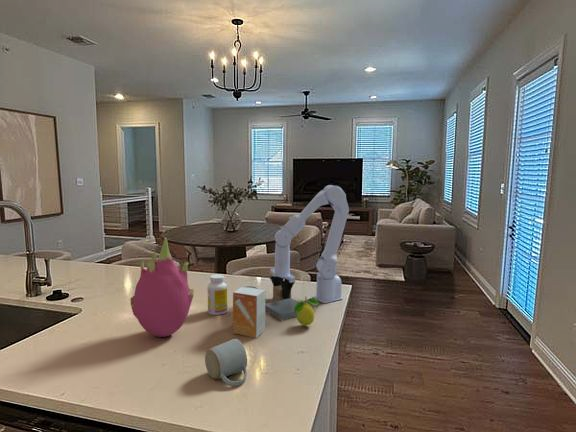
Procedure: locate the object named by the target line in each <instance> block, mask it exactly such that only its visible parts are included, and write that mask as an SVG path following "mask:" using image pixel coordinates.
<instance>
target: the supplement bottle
mask: <svg viewBox="0 0 576 432" xmlns="http://www.w3.org/2000/svg"><path fill="white" fill-rule="evenodd" d="M209 278H210V279H209V280H210V282H209V283H208V284H207V313H208V314H210V315H213V316H221V315H224V314H226V313H227V312H228V284H227V283H226V282H224V280H225V276H224V275H223V274H212V275H210V277H209Z"/></svg>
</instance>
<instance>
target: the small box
mask: <svg viewBox="0 0 576 432" xmlns="http://www.w3.org/2000/svg"><path fill="white" fill-rule="evenodd" d="M256 288H257V287H256ZM256 288H248V287H246V286H240V287H239V288H238V289H236V290H235V291H233V293H232V334H236V335H242V336H246V337H251V338H253V339H257V338H258V337H259V336H260V335H262V333H264V331H266V310H265V304H266V293H267V292H266V289H261V288H258V289H256Z"/></svg>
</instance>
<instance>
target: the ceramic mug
mask: <svg viewBox="0 0 576 432" xmlns="http://www.w3.org/2000/svg"><path fill="white" fill-rule="evenodd" d="M204 365H205V368H206V370H207V373H208V375H209V377H211V378H212V379H214V380H219V379H221V380H222V381H223V383H225V384H226V385H227V386H230V387H239V386H241V385H242V384H244V383H245V382H246V379H247V375H248V372H247V367H248V356H247V351H246V347H244V345H243V343H242V342H241V341H240V340H239V339H238V338H233V339H231V340H228V341H226V342H223V343H220V344H218V345H215V346H213V347H211V348H210V349H208V350H207V351H206V353H205V356H204ZM241 372H243V378H242V379H241V380H236V381H235V380H230V379H229V378H227V377H228V376H232V375H235V374H237V373H241Z"/></svg>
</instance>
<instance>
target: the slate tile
mask: <svg viewBox="0 0 576 432" xmlns="http://www.w3.org/2000/svg"><path fill="white" fill-rule="evenodd" d="M299 302H300V301H298V300H296V299H294V298H292V297H291V298H290V299H285V300H280V301H275V300H274V301H271V302H267V303H266V302H265V312H267V313H268V314H271V315H272V316H274V317H275V318H277V319H278V320H280V321H286V320H289V319H294V318H297V311H296V312H294V307H295V306H296V304H297V303H299Z"/></svg>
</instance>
